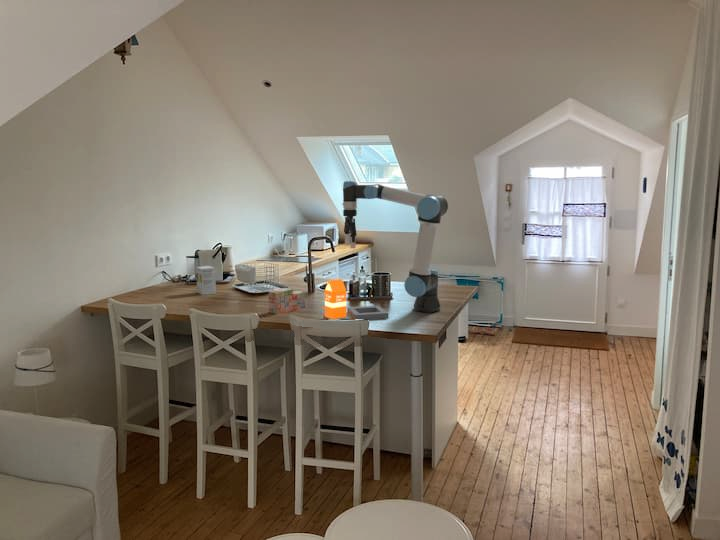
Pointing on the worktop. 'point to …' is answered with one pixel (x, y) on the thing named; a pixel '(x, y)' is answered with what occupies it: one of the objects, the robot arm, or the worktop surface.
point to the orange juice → (335, 299)
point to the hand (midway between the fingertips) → (350, 246)
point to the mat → (339, 318)
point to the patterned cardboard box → (285, 300)
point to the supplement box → (206, 280)
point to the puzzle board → (367, 312)
